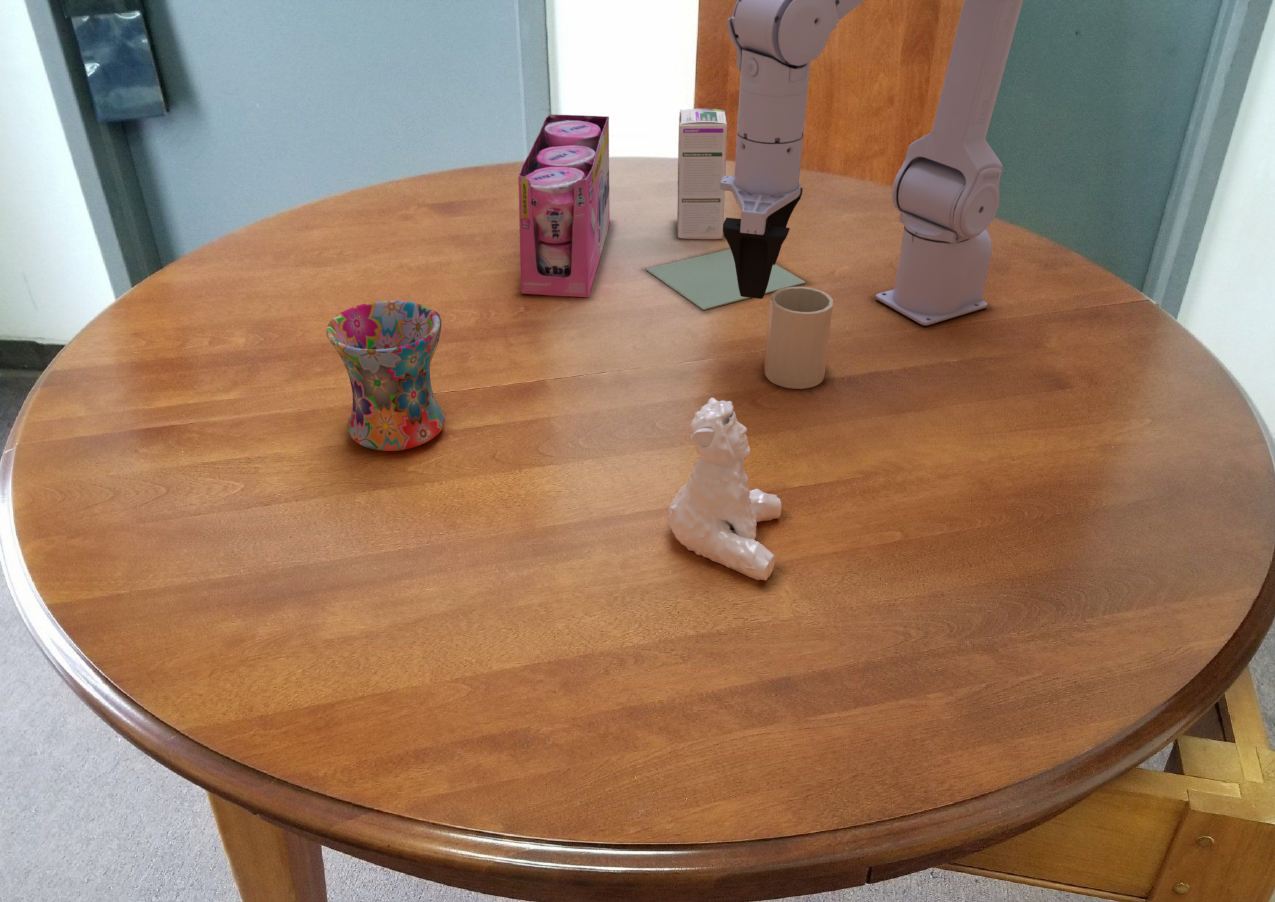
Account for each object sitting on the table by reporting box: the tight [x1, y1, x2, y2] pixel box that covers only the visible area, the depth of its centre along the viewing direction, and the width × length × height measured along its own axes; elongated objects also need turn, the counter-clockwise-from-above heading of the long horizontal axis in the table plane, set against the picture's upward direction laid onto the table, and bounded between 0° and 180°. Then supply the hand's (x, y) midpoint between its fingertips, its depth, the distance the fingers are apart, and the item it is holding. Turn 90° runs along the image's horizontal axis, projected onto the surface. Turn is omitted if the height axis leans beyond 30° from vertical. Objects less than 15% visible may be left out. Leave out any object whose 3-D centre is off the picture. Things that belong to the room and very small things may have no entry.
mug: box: [325, 300, 446, 452], centre depth 93 cm, size 12×9×11 cm
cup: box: [763, 286, 835, 390], centre depth 103 cm, size 6×6×8 cm
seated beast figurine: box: [667, 397, 782, 581], centre depth 80 cm, size 10×9×12 cm
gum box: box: [517, 113, 611, 298], centre depth 123 cm, size 24×8×14 cm, turn 176°
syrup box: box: [676, 108, 728, 240], centre depth 131 cm, size 6×6×14 cm
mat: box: [645, 248, 806, 311], centre depth 123 cm, size 14×12×1 cm
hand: (758, 278), depth 100 cm, fingers open, 7 cm apart
